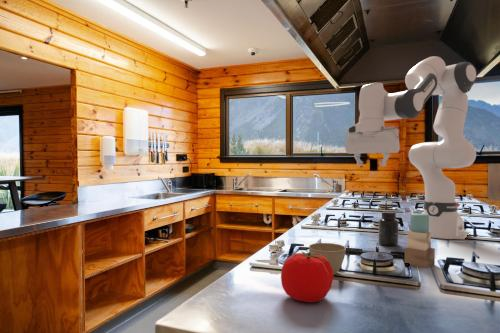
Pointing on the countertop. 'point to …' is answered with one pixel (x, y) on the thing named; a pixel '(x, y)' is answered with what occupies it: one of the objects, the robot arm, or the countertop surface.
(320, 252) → the flower pot
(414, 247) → the tower top
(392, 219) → the supplement bottle
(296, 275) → the tomato
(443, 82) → the robot arm
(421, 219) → the green cube
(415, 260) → the tower base
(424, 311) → the countertop surface
